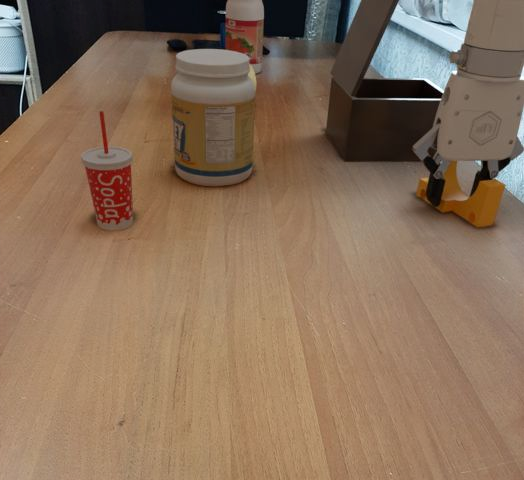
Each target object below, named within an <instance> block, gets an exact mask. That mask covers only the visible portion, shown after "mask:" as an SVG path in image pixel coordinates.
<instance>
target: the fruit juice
mask: <svg viewBox="0 0 524 480" xmlns="http://www.w3.org/2000/svg"><path fill="white" fill-rule="evenodd" d="M264 19H265V7H264V3H263V0H227V1H226V4H225V50H229V51H235V52H239V53H243V54H245V55H247V56H248V57H249V63H250V64H251V66H252V68H253V70H254V72H255V75H256V74H259V73H261V72H262V69H263V49H264V46H263V45H264V25H265V24H264V23H265V21H264Z"/></svg>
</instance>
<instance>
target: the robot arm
mask: <svg viewBox="0 0 524 480" xmlns="http://www.w3.org/2000/svg"><path fill="white" fill-rule="evenodd" d="M449 63H450V64H455V65H456V67H457V69H456V70H452V71H451V73H450V76H449V78H448V80H447V82H446V84H445V87H444V89H443V90H444V92H443V95H442V98H441V100H440V103H439V106H438V110H437V113H436V116H435V120H434V124H433V128H432V129H431V130H430V131H429V132H428V133H426V134H425V135H424V136H423V137H422V138H421V139H420V140H419V141H418V142H417V143H416V144H414V145H413V147H412V150H413V151H414V152H415V154H416V155H417V156H418V157H419V159H420V160H421V161H420V162H421V163H422V164H423V165H424V167H425V168H426V170H427V171H428V172H429V175H428V178H429V180H428V184H427V189H426V197H427V200H428V201H429V202H430V203H431V204H432V205H433V206H432V205H431V204H430V205H431V206H432V207H433V208H435V207H438V206H439V205H440V202H441V198H442V194H443V190H444V185H445V179H444V178H443V175H444V173H445V171H446V170H447V168H448V166H449V165H450V163H451V161H457V162H466V161H467V162H475V161H476V162H480V170H477V171H476V173H475V176H474V179H473V183H472V188H471V190H470V193H469V197H471V196H472V195H473V194H474V193H475V191H476V189H477V187H478V185H479V182H480V181H485V180H493V179H496V178H497V177H498V176H499V173H500V172H501V171H503V170H504V169H505V168H507V167H508V166H509V165H510V163H511V162H512V161H514V160H515V159H516V158H518V157H519V156H521V155H522V154H523V153H524V145H523V144H522V141H520V139H519V137H518V134H519V129H520V125H521V121H522V117H523V111H524V76H523V75H522V74H523V73H522V72H523V69H524V0H472V5H471V8H470V13H469V18H468V22H467V26H466V31H465V35H464V40H463V43H461V45H460V49H458V50H452V51H451V52H450V55H449ZM429 147H432V148H433V149H435V150H437V152H436V153H435V155H434V157H433V158H432V157H431V156H430V155H429V153H428V149H429Z"/></svg>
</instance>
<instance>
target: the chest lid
mask: <svg viewBox="0 0 524 480" xmlns="http://www.w3.org/2000/svg"><path fill="white" fill-rule="evenodd" d="M399 1H400V0H360V2H359V4H358V7H357V9H356V11H355V14H354V15H353V18H352V20H351V23H350V25H349V28H348V30H347V33H346V35H345V37H344V39H343V42H342V44H341V47H340V49H339V51H338V54H337V56H336V59H335V61H334V63H333V65H332V68H331V70H330V72H329V74H330V75H331V76H332V77H334V78H335V79H336V80H337V81H338V82H339V83H340V85H341V86H342V87H343V88H344V89H345V90H346V91H347V92H348V93H349V94H350V95H351V96H353V97H355V96H356V94H357V92H358V89H359V87H360V85H361V83H362V81H363V78H365V76H366V74H367V71H368V70H369V68H370V65H371V63H372V61H373V58H374V56H375V54H376V52H377V50H378V48H379V45H380V43H381V41H382V39H383V37H384V34H385V33H386V30H387V29H388V26H389V24H390V22H391V19H392V17H393V15H394V13H395V10H396V8H397V6H398V4H399Z"/></svg>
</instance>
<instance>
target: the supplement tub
mask: <svg viewBox="0 0 524 480" xmlns="http://www.w3.org/2000/svg"><path fill="white" fill-rule="evenodd" d="M174 67H175V69H174V70H176V71H177V73H176V75H174V77H173V78H172V80H171V83H170V96H171V97H170V98H171V99H170V100H171V116H172V134H173V135H172V136H173V137H172V138H173V155H174V169H175V172H176V174H177V176H178V177H180V178H181V179H183V180H184V181H185V182H188V183H190V184H193V185H196V186H202V187H225V186H232V185H236V184H240V183H242V182H244V181H245V180H247V179H248V178H249V177H250V176H251V174H252V171H253V168H254V135H255V108H256V107H255V106H256V105H255V104H256V92H255V85H254V83H253V81H252V79H251V78H250V77H249V76H248V73H249V72H250V67H249V57H248V56H247V55H245V54H243V53H239V52H235V51H229V50H226V49H221V48H220V49H219V48H196V49H186V50H183V51H179V52H178V53H176V55H175V66H174Z"/></svg>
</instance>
